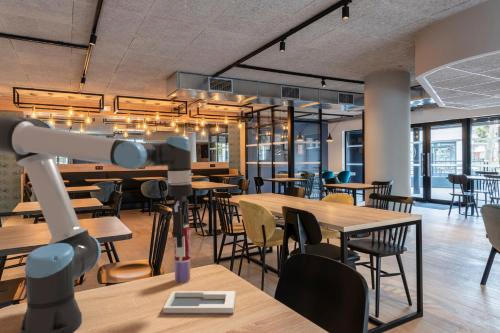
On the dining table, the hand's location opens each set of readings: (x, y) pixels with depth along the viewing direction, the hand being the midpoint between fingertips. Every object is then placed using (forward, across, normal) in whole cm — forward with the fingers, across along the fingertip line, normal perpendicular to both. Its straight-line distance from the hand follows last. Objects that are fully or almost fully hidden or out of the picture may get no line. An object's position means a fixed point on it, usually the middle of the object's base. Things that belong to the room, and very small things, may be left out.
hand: (182, 253), depth 105 cm
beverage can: (+18, +21, +6) cm, 28 cm away
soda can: (+2, 0, 0) cm, 2 cm away
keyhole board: (+18, 0, -6) cm, 18 cm away
